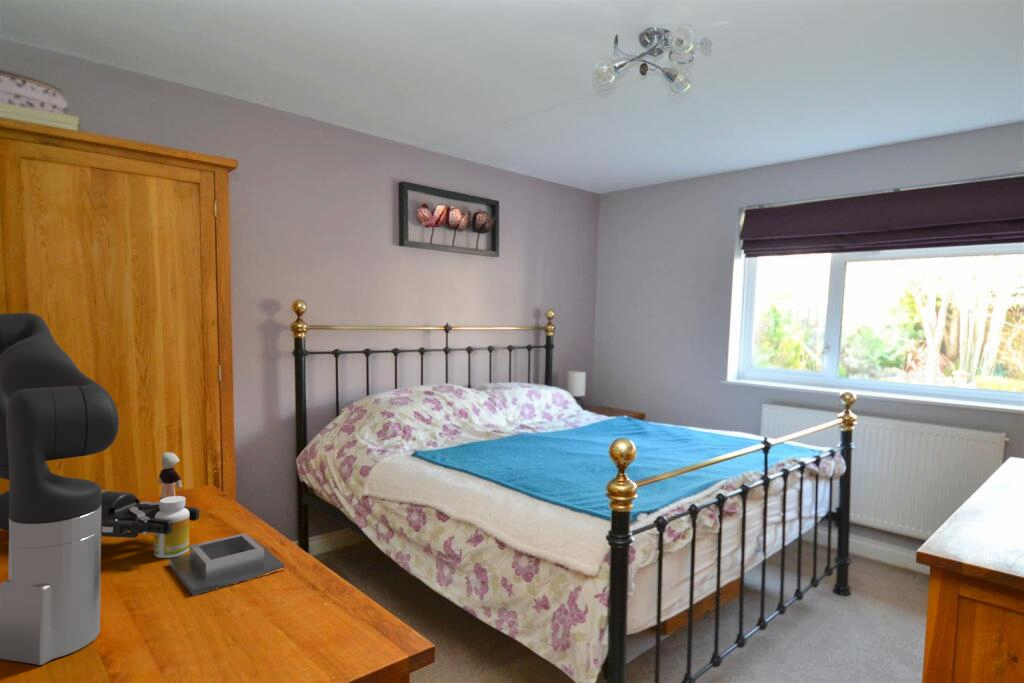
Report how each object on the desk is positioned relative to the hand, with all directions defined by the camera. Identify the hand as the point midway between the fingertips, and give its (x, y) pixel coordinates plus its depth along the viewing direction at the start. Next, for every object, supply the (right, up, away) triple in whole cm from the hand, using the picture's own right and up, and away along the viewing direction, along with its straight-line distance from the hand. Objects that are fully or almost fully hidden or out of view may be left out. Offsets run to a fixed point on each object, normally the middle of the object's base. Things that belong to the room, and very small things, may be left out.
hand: (184, 520), depth 99 cm
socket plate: (+10, -7, -4) cm, 13 cm away
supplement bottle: (-3, -6, +1) cm, 7 cm away
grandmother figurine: (-16, -5, +21) cm, 26 cm away
